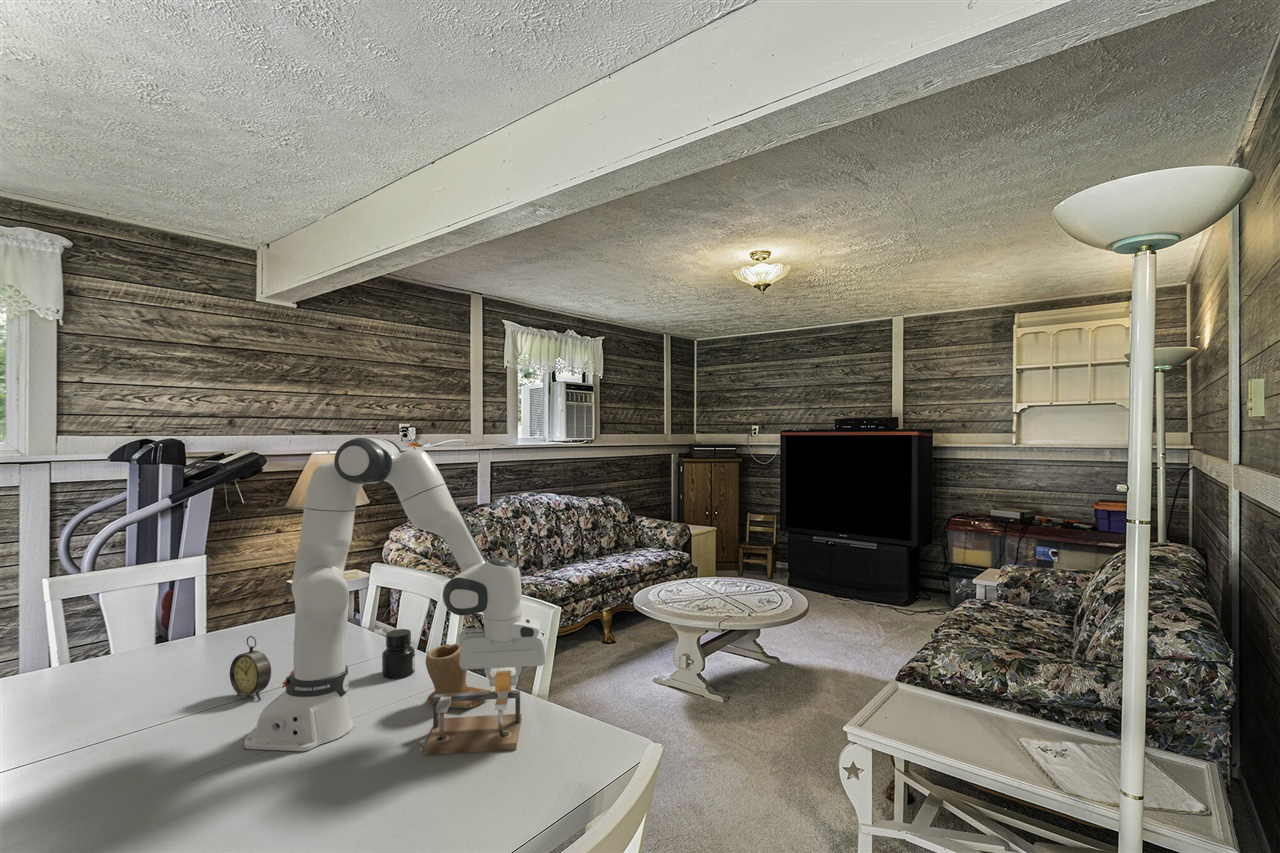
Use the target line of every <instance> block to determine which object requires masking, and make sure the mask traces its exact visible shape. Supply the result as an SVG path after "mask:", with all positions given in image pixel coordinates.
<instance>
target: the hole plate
mask: <svg viewBox="0 0 1280 853" xmlns="http://www.w3.org/2000/svg"><path fill="white" fill-rule="evenodd" d="M497 696H498V693H495V690H494V691H492V690H491V692H472V693H453V694H435V695H434V697H433V704H432V715H433V716H432V718H433V719H432V720H433V721H432V722H433V723H432V725H433V728H432V730H431V732H430V734H429V736H428V739H427V741H426V744H424V748H423V756H434V755H435V756H436V755H449V754H450V755H451V754H464V753H465V754H467V753H482V752H483V753H484V752H498V751H512V750H513V751H515V750H517V749H518V743H519V742H518V741H519V737H520V731H519V730H521V725H522V713H521V690H520V689H515V690H512V689H511V692H510V693H508V700H509V699H515V707H514V708H515V713H512V714H511V713H510V714H503V733H502V734H499V733H498V714H495V715H494V714H493V715H475V716H473V715H472V716H457V717H445V714H447V713H448V710H449V708H450V704H451V702H452V701H471V700H485V701H487V700H496V699H497ZM520 724H521V725H520ZM518 736H519V737H518Z"/></svg>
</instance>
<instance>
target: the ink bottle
mask: <svg viewBox="0 0 1280 853" xmlns="http://www.w3.org/2000/svg"><path fill="white" fill-rule="evenodd" d="M411 642H412V631H411V630H410V629H407V628H399V629H393V630H389V631H388V632H386V633H385V647H386V648H385V650H384V651H383V652H382V655H381V671H382V672H381V674H382V677H384V679H385V678H386V679H389V680H398V679H403V678H406V677H409V676H411V675H412V674H413V673H415V670H416V654H415V653H416V651H415V648H414V647H413V646H412V645H411V644H412V643H411Z"/></svg>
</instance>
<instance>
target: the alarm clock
mask: <svg viewBox="0 0 1280 853" xmlns="http://www.w3.org/2000/svg"><path fill="white" fill-rule="evenodd" d="M250 638H251V639H253V640H254V646H252V645H251V646H250V645H249V639H250ZM246 644H247V647H248V649H249V650H248V652H244V653H240V654H238V655H236V656H235V658H234V659H233V660H232V662H231V663H230V668H229V682H230V684H231V686H232V689H233V691H234V692H236V693H235V694H236V695H237V694H239V695H238V696H241V697H249V696H251V695H255V696H256V698H257V700H258V701H261V696H260V693H261V692H262V691H263V690H265V689H266V688H267V686H268V685H269V683H270V680H271V677H272V666H271V663H270V660H269V658H268V657H267V655H266V654H264V653H263V652H262V651H260V650H254V648H256V647H257V639H256V638H255V637H254V636H253V635H249V636H248V637H247V639H246ZM259 692H260V693H259ZM236 695H235V696H236Z"/></svg>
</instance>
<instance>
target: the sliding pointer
mask: <svg viewBox="0 0 1280 853" xmlns="http://www.w3.org/2000/svg"><path fill="white" fill-rule="evenodd" d="M494 676H495V686H494V691H495V693H498V696H497V699H495V703H494V711H497V713H498V714H497V715H498V733H499V734H502V733H503V715H504V711H505V710H507V706H508V703H509V702H508V701H509V699H508V693H510V692H511V691H512V686H513V685H511V676H512V670H500V671H499V670H498V671H496V672H495V675H494Z"/></svg>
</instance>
